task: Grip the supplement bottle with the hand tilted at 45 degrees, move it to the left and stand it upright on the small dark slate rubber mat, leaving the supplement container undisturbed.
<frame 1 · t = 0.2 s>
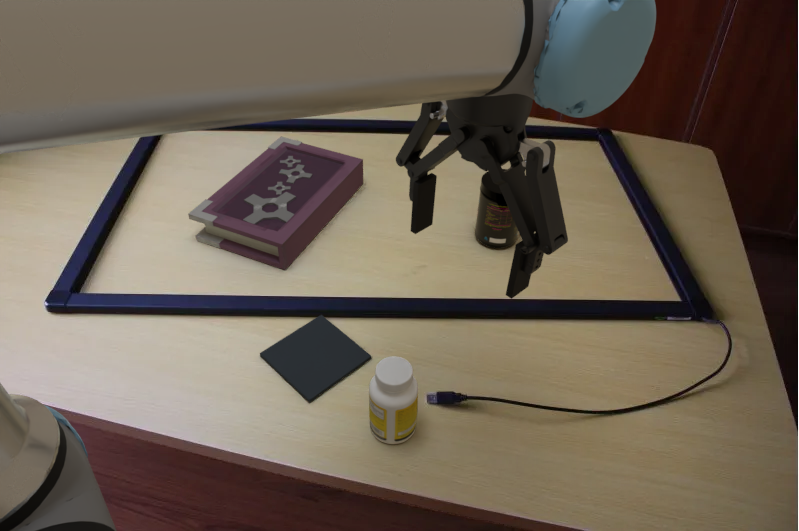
hand: (466, 257, 68), 18 cm above the table, tool pointing down, fingers open, 13 cm apart
supplement container: (495, 237, 101), on the table
book: (284, 211, 105), on the table
supplement bottle: (392, 426, 74), on the table
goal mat: (315, 357, 81), on the table
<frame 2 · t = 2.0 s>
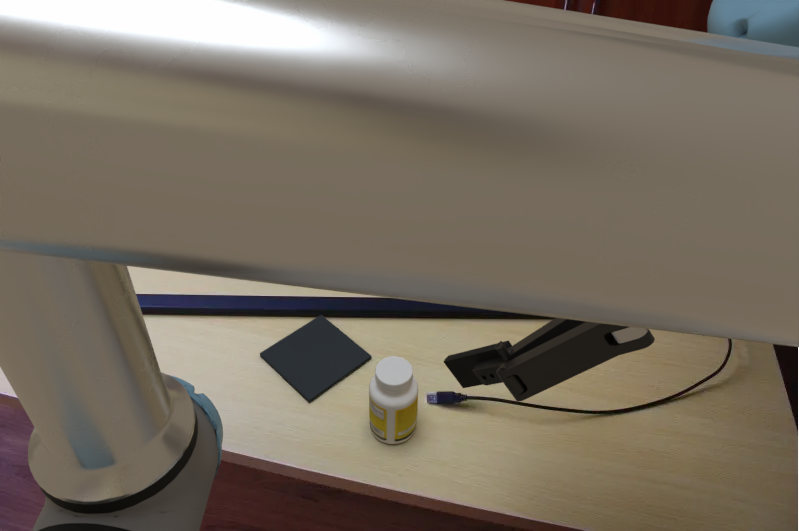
hand: (494, 319, 54), 23 cm above the table, tool tilted 45°, fingers open, 13 cm apart
nothing on the table moved.
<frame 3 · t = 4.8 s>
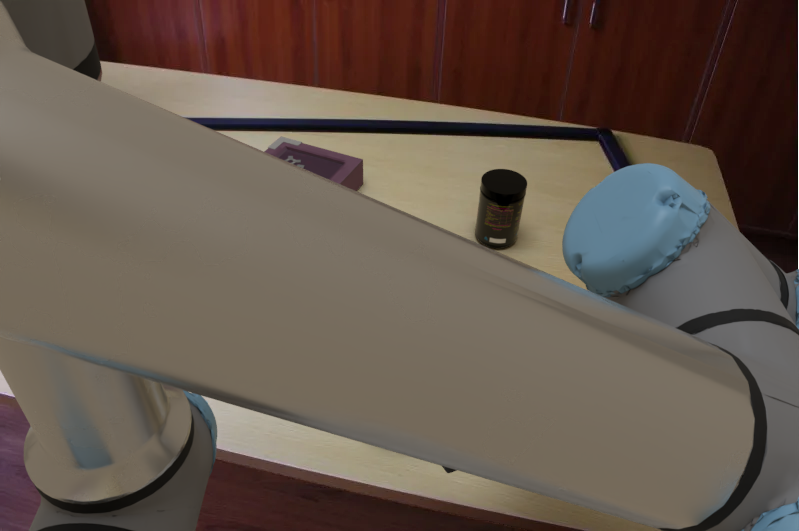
hand: (444, 390, 64), 11 cm above the table, tool tilted 45°, fingers open, 13 cm apart
nothing on the table moved.
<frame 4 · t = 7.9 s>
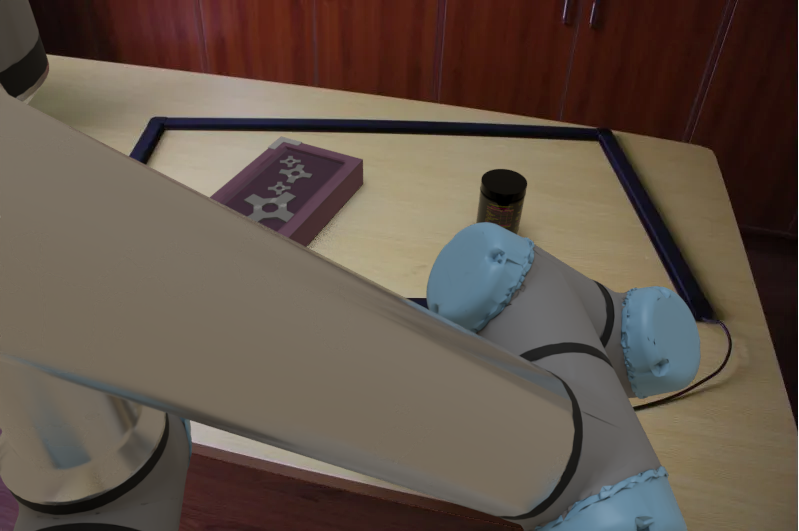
hand: (367, 392, 73), 3 cm above the table, tool tilted 45°, fingers closed on supplement bottle, 5 cm apart
supplement bottle: (392, 426, 74), on the table, touching gripper
everything else where it was.
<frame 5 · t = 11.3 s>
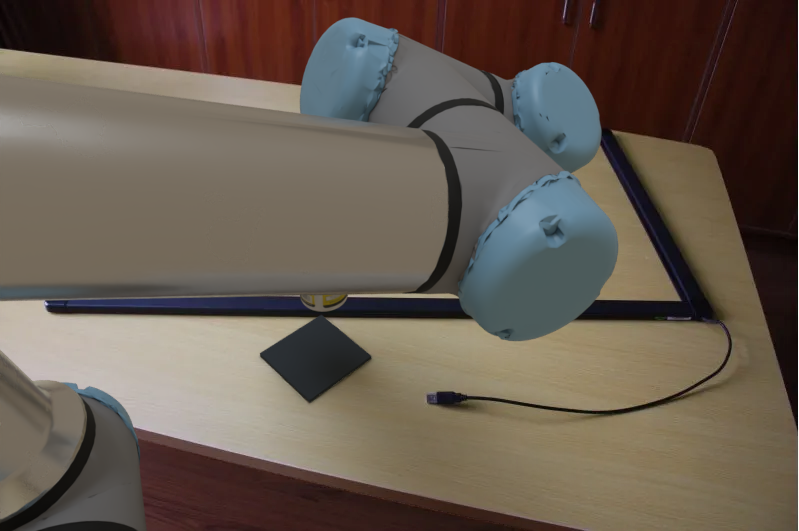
hand: (297, 260, 71), 16 cm above the table, tool tilted 45°, fingers closed on supplement bottle, 5 cm apart
supplement bottle: (324, 297, 72), point 12 cm above the table, touching gripper
everything else where it was.
when the fingers open (4 cm above the table, at t = 15.0 s): supplement bottle stays where it is, resting on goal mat.
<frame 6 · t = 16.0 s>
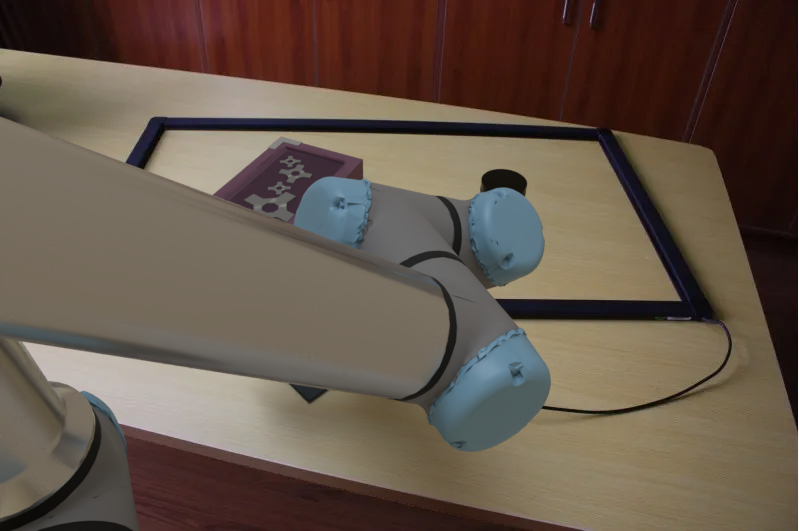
hand: (298, 317, 78), 6 cm above the table, tool tilted 45°, fingers open, 13 cm apart
supplement bottle: (316, 355, 81), resting on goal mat
everything else where it was.
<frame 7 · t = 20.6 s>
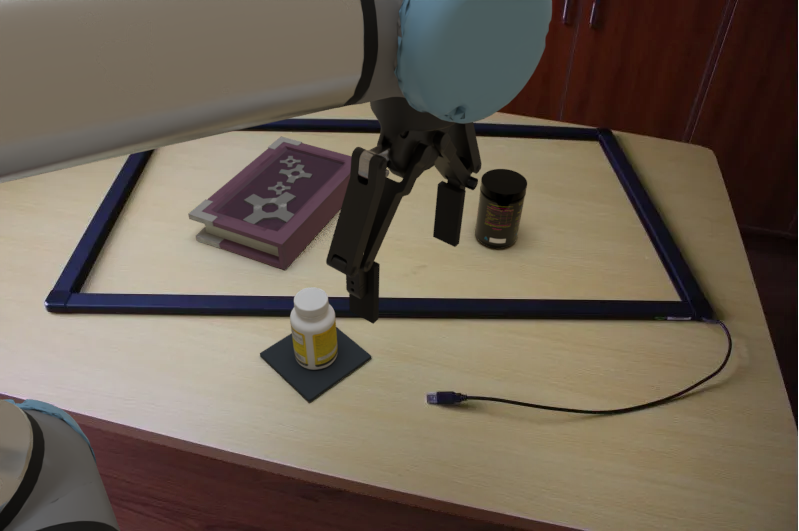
hand: (407, 275, 62), 21 cm above the table, tool pointing down, fingers open, 13 cm apart
nothing on the table moved.
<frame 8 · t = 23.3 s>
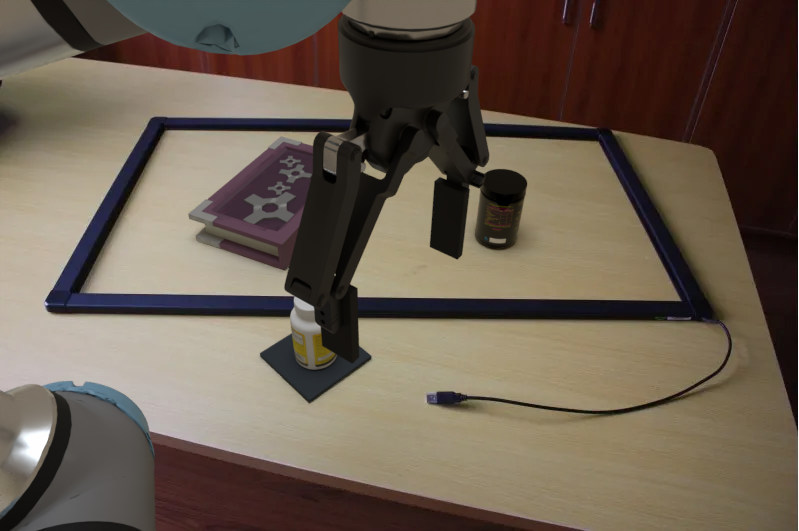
hand: (397, 297, 49), 29 cm above the table, tool pointing down, fingers open, 13 cm apart
nothing on the table moved.
at the end: supplement bottle inside the target area on the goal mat (0.1 cm from its centre), point 0.4 cm above the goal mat's base; supplement bottle tilted 0°; supplement container moved 0.2 cm from its start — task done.
